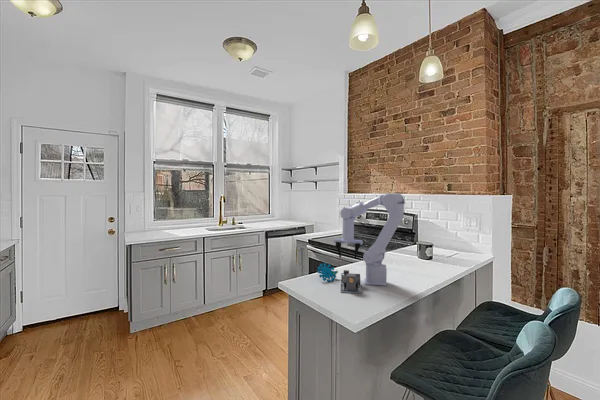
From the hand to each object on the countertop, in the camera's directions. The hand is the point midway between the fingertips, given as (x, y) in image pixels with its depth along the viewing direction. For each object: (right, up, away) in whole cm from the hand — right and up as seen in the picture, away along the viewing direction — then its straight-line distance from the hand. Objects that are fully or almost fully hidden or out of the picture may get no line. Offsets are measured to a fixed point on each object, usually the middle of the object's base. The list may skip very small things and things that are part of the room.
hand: (347, 257), depth 147 cm
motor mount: (-2, -10, -19) cm, 21 cm away
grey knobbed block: (-2, -10, -21) cm, 23 cm away
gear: (-11, -10, -6) cm, 16 cm away
